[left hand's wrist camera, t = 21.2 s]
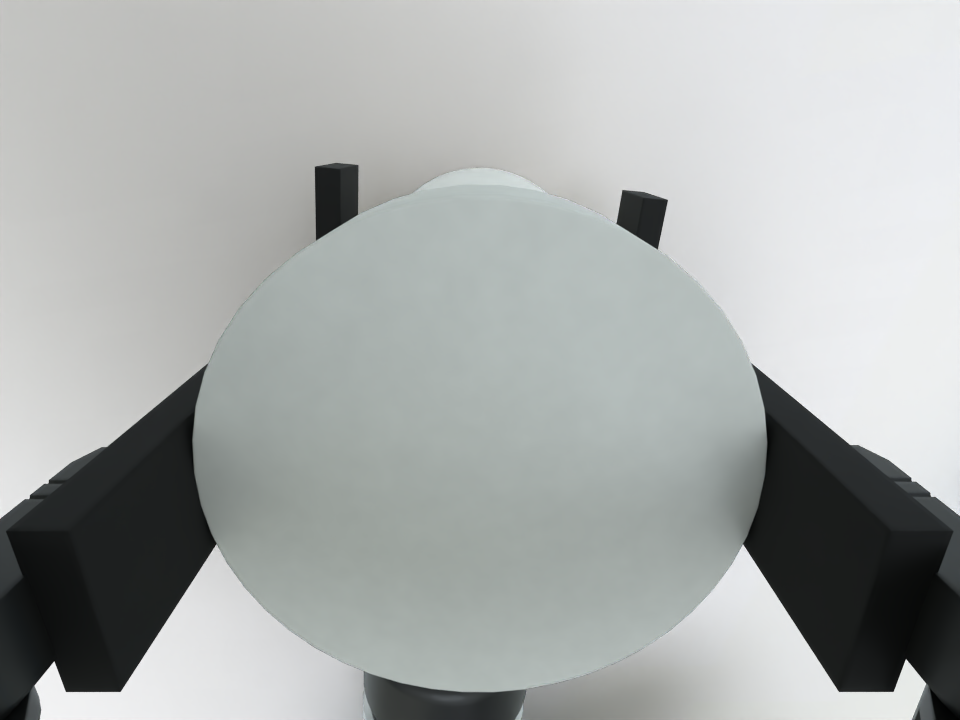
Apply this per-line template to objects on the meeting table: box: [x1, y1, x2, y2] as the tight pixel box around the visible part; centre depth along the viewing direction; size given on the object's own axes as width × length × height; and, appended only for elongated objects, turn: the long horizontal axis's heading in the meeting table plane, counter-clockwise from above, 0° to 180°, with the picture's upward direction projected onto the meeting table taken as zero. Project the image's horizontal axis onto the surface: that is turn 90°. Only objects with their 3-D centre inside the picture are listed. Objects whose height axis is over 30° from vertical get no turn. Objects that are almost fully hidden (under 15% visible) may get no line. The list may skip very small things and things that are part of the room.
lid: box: [192, 185, 767, 692], centre depth 11 cm, size 10×10×2 cm
